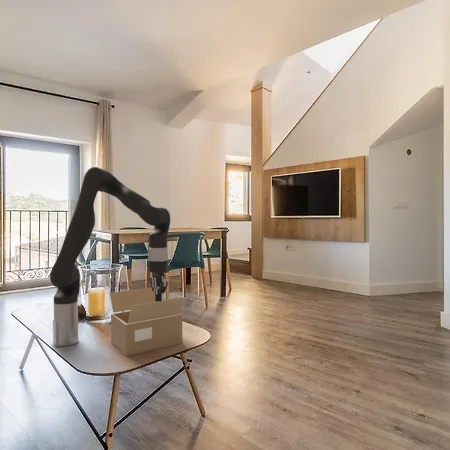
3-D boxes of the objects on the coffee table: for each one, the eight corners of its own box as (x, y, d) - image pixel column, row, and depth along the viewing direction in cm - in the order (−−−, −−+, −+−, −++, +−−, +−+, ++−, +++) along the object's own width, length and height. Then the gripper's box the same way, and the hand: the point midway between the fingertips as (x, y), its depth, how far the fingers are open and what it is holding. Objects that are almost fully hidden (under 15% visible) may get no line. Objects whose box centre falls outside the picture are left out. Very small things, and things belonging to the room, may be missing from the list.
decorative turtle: (67, 318, 184) (67, 303, 184) (95, 315, 194) (95, 300, 195) (74, 321, 177) (75, 305, 177) (103, 317, 187) (104, 302, 188)
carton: (126, 356, 134) (125, 324, 134) (111, 342, 149) (110, 314, 149) (182, 343, 148) (182, 314, 148) (163, 331, 163) (163, 305, 163)
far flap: (161, 304, 162) (161, 305, 162) (157, 286, 166) (156, 287, 166) (113, 312, 149) (113, 312, 150) (109, 292, 153) (109, 293, 153)
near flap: (128, 322, 135) (128, 323, 135) (132, 304, 131) (132, 305, 131) (179, 313, 147) (180, 314, 147) (184, 297, 144) (185, 297, 143)
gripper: (142, 258, 141) (142, 301, 142) (156, 261, 130) (156, 308, 131) (159, 256, 145) (160, 298, 146) (174, 260, 134) (174, 305, 135)
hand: (158, 303), depth 138 cm, fingers closed
